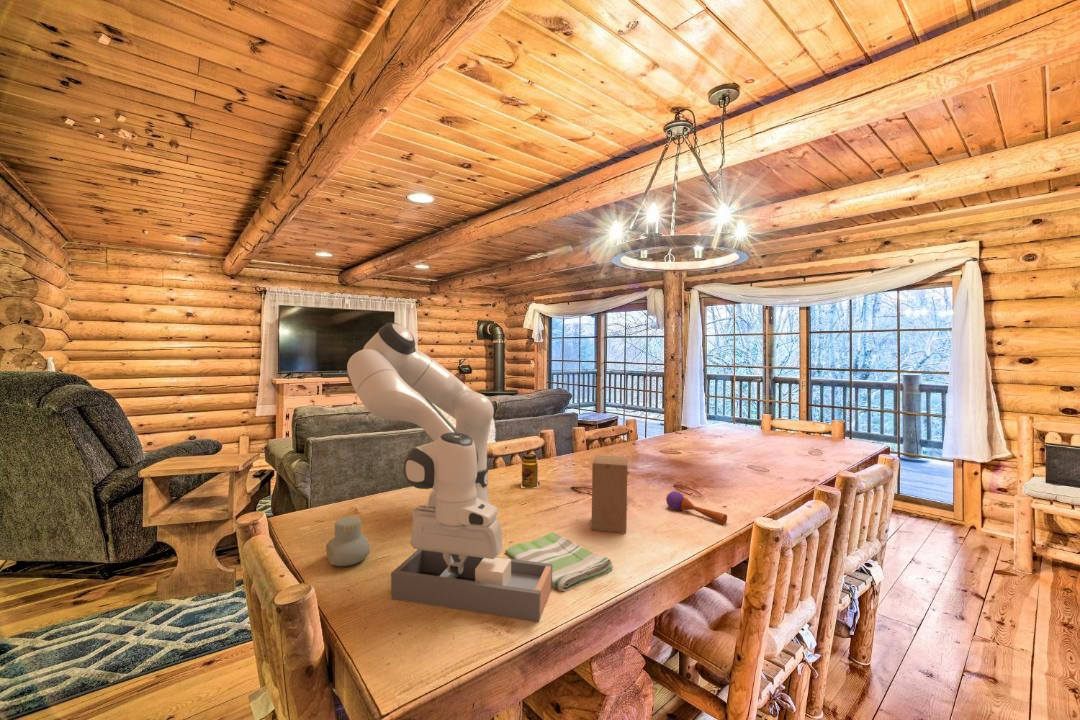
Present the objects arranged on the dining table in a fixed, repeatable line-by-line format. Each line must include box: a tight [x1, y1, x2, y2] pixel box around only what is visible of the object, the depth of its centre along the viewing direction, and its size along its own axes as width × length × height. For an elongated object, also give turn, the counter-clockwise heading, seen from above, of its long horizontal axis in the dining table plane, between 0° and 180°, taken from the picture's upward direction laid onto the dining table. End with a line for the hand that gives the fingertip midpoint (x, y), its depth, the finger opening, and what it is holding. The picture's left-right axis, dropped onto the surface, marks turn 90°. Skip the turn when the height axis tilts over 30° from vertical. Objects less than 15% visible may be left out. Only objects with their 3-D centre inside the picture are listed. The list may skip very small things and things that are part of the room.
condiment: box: [521, 453, 541, 489], centre depth 173 cm, size 7×8×12 cm
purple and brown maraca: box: [665, 490, 728, 526], centre depth 144 cm, size 6×6×20 cm
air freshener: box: [325, 516, 371, 567], centre depth 110 cm, size 11×8×10 cm
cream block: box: [475, 556, 512, 586], centre depth 95 cm, size 6×6×4 cm
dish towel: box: [505, 531, 614, 592], centre depth 111 cm, size 17×23×4 cm
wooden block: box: [590, 454, 629, 534], centre depth 134 cm, size 10×10×20 cm
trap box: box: [390, 549, 553, 623], centre depth 96 cm, size 32×12×6 cm, turn 77°
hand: (455, 572), depth 97 cm, fingers closed
